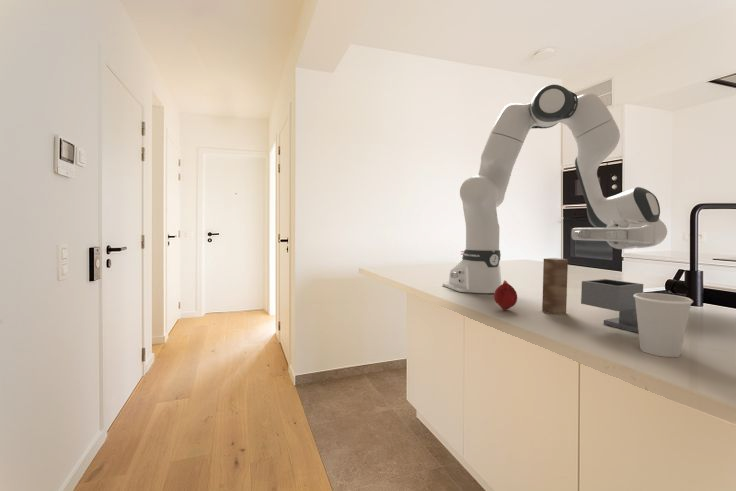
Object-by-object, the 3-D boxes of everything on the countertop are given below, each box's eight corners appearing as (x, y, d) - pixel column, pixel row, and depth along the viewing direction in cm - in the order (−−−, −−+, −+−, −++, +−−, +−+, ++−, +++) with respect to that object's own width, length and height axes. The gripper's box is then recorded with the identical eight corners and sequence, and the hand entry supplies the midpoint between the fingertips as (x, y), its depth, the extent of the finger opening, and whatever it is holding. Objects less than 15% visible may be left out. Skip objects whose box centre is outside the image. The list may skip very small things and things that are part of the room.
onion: (520, 309, 99) (520, 280, 99) (512, 313, 95) (512, 283, 94) (498, 306, 103) (499, 278, 102) (490, 310, 99) (490, 280, 98)
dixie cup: (667, 344, 70) (670, 292, 70) (703, 360, 62) (706, 302, 62) (621, 343, 71) (623, 292, 71) (650, 359, 63) (653, 301, 62)
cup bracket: (580, 328, 82) (581, 281, 81) (619, 321, 87) (621, 277, 87) (617, 338, 74) (619, 286, 74) (657, 330, 80) (660, 282, 80)
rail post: (542, 311, 98) (543, 258, 97) (552, 309, 99) (554, 258, 99) (555, 314, 94) (557, 259, 93) (566, 313, 96) (567, 259, 95)
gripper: (588, 223, 116) (558, 223, 111) (663, 222, 98) (631, 222, 92) (588, 243, 117) (558, 244, 111) (662, 246, 98) (630, 247, 92)
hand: (591, 234), depth 101 cm, fingers open, 8 cm apart
